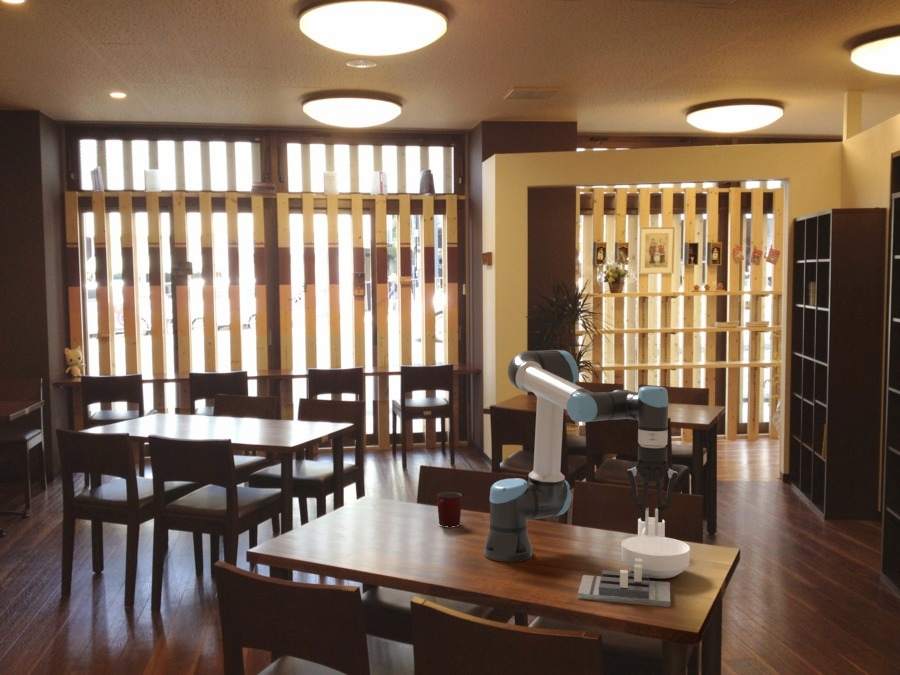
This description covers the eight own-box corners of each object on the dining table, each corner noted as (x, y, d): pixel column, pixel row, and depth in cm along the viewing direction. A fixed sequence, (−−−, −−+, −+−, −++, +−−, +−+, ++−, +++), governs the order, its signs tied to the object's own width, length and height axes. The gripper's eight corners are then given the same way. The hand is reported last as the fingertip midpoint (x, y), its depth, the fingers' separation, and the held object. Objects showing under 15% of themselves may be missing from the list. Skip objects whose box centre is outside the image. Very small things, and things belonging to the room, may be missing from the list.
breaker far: (634, 575, 223) (634, 560, 223) (634, 572, 225) (635, 558, 225) (641, 575, 223) (642, 561, 222) (642, 572, 225) (642, 558, 225)
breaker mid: (633, 581, 218) (634, 567, 218) (634, 578, 220) (634, 564, 220) (641, 582, 217) (641, 567, 217) (641, 579, 220) (641, 564, 219)
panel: (577, 598, 215) (577, 585, 215) (582, 580, 230) (583, 568, 230) (670, 607, 209) (670, 593, 209) (669, 587, 224) (669, 575, 224)
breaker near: (619, 587, 213) (620, 572, 213) (620, 584, 216) (620, 569, 216) (627, 587, 213) (627, 573, 213) (627, 584, 215) (628, 570, 215)
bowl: (687, 565, 243) (688, 538, 243) (692, 587, 224) (692, 557, 224) (621, 560, 248) (621, 533, 248) (620, 582, 229) (620, 552, 228)
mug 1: (451, 532, 279) (451, 500, 278) (428, 528, 283) (428, 497, 282) (465, 523, 290) (465, 493, 289) (443, 520, 293) (443, 490, 293)
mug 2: (654, 560, 248) (654, 527, 247) (629, 556, 252) (629, 523, 252) (668, 551, 257) (668, 519, 257) (643, 546, 262) (644, 515, 262)
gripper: (623, 446, 209) (622, 535, 210) (682, 449, 206) (681, 540, 206) (624, 441, 217) (623, 528, 217) (681, 444, 213) (680, 532, 214)
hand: (651, 533), depth 212 cm, fingers closed
